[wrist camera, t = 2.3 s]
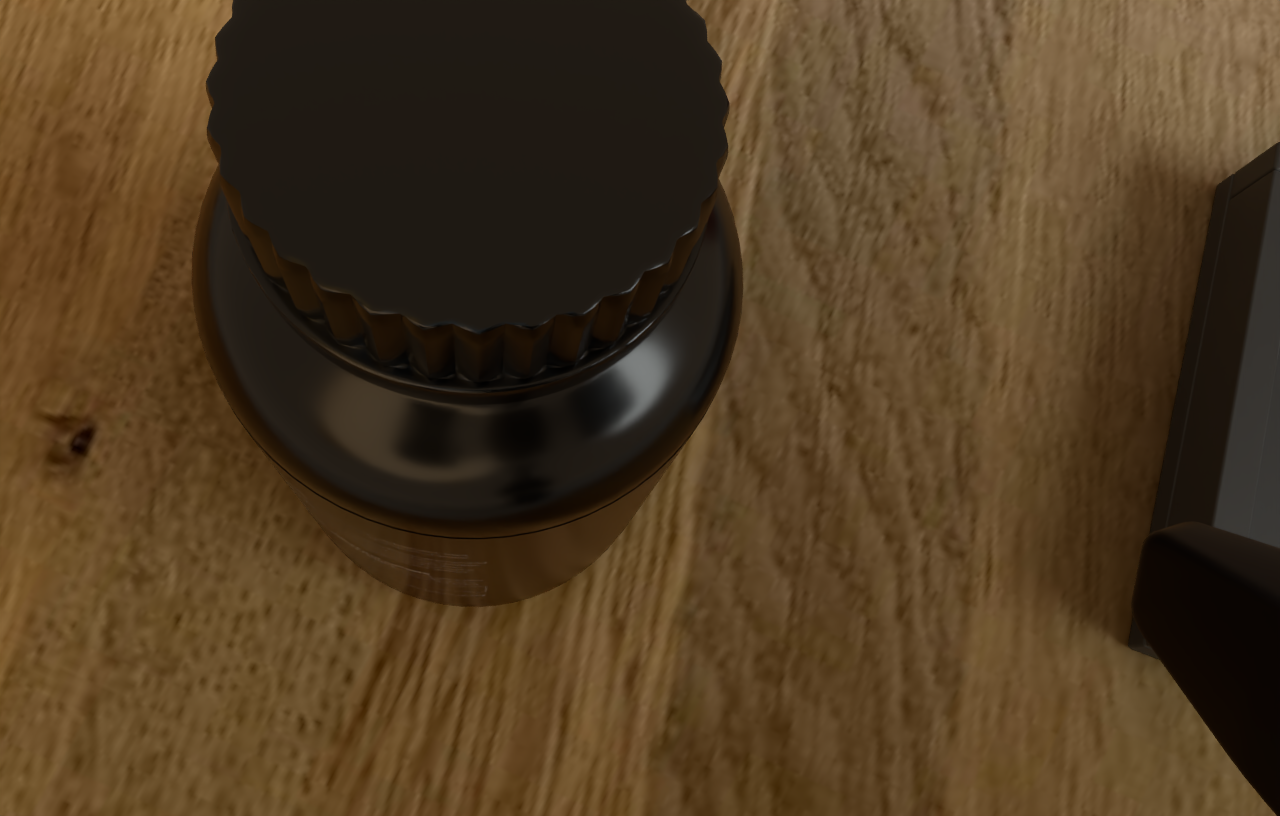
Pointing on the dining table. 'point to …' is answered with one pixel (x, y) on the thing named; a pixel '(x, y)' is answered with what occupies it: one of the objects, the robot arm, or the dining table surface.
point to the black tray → (1230, 374)
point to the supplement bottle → (468, 271)
